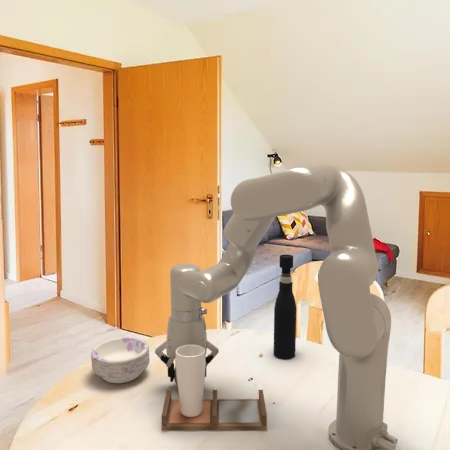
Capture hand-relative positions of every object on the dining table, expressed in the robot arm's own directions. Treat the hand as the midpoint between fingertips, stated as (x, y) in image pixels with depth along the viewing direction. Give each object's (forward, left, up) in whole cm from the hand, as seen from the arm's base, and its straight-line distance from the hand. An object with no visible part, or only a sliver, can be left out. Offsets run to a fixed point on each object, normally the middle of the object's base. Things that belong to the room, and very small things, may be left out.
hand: (187, 378), depth 125 cm
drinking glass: (-12, +6, -1) cm, 14 cm away
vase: (0, 0, -3) cm, 3 cm away
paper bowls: (+16, +11, -3) cm, 20 cm away
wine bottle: (-1, -33, -2) cm, 33 cm away
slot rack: (-15, +2, -2) cm, 15 cm away
